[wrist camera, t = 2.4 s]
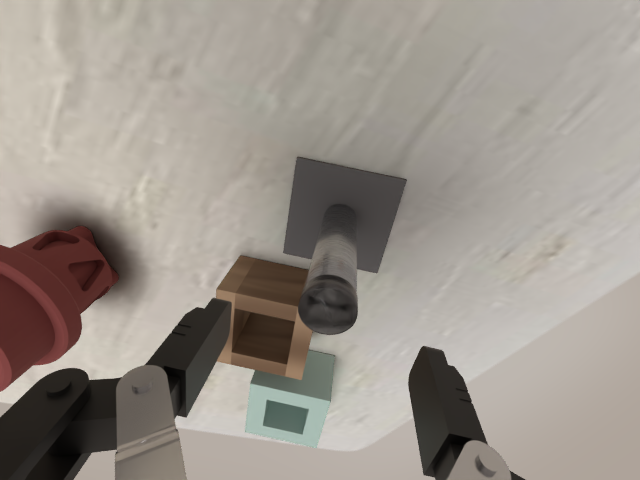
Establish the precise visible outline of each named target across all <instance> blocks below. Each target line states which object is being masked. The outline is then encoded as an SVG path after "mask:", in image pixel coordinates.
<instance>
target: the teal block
mask: <svg viewBox="0 0 640 480" xmlns="http://www.w3.org/2000/svg"><path fill="white" fill-rule="evenodd" d="M334 357H335V356H334V355H329V354H325V353H320V352H315V351H311V350H308V354H307V358H306V363H305V367H304V372H303V376H302V380H299V379H294V378H290V377H285V376H281V375H276V374H272V373H267V372H263V371H258V370H255V372H254V375H253V378H252V380H251V383H250V391H249V400H248V409H247V418H246V426H245V432H247V433H251V434H256V435H260V436H264V437H269V438H273V439H278V440H282V441H287V442H291V443H295V444H300V445H304V446H309V447H313V448H317V445H318V442H319V438H320V435H321V432H322V428H323V425H324V422H325V418H326V415H327V412H328V409H329V405H330V402H331V392H332V380H333V369H334Z"/></svg>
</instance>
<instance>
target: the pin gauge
mask: <svg viewBox="0 0 640 480" xmlns="http://www.w3.org/2000/svg"><path fill="white" fill-rule="evenodd" d="M298 313H299V317H300V319H301V321H302V322H303V323H304V324H305V325H306V326H307V327H308V328H309V329H311V330H313V331H315V332H317V333H321V334H326V335H334V334H339V333H342V332H345V331H347V330H348V329H350V328H351V327H352V326H353V324H354V323H355V321H356V319H357V313H358V298H357V216H356V213H355V212H354V210H353V209H352V208H351V207H349V206H348V205H345V204H335V205H332V206H330V207H329V208H328V209H327V210H326V211H325V213H324V216H323V220H322V224H321V228H320V231H319V235H318V239H317V242H316V246H315V250H314V253H313V257H312V261H311V265H310V268H309V272H308V276H307V279H306V283H305V286H304V288H303V290H302V294H301V297H300V301H299V305H298Z"/></svg>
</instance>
